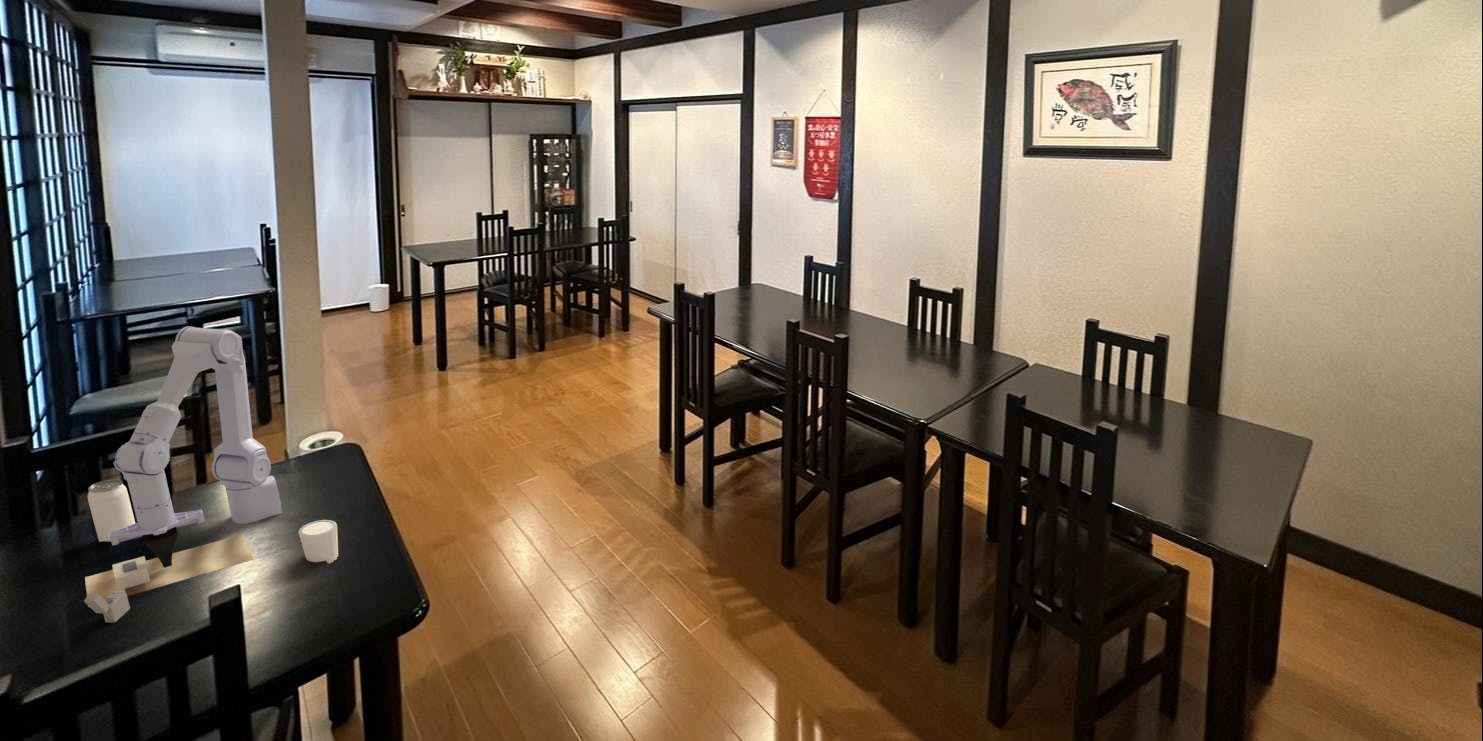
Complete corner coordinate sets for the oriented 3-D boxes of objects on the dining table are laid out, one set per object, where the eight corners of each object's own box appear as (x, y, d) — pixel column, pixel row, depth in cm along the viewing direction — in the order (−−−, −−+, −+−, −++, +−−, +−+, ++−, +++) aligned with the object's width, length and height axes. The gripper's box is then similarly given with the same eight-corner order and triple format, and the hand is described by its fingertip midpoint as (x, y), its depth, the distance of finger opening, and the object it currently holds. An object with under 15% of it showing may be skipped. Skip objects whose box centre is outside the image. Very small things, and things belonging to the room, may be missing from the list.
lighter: (122, 612, 145) (111, 574, 142) (132, 612, 145) (122, 574, 142) (93, 638, 138) (82, 597, 135) (104, 637, 138) (93, 597, 135)
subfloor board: (243, 538, 169) (242, 534, 169) (254, 563, 160) (253, 559, 160) (86, 581, 153) (84, 577, 153) (89, 612, 145) (88, 607, 144)
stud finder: (147, 567, 157) (144, 554, 156) (150, 581, 152) (147, 568, 151) (115, 576, 154) (111, 563, 153) (117, 590, 149) (114, 577, 148)
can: (117, 547, 165) (103, 494, 161) (91, 543, 166) (76, 490, 162) (145, 531, 171) (133, 480, 167) (119, 527, 172) (106, 476, 168)
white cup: (303, 571, 158) (298, 539, 156) (303, 554, 164) (298, 523, 162) (342, 562, 161) (337, 531, 159) (340, 546, 167) (336, 516, 165)
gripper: (105, 521, 144) (122, 587, 149) (200, 498, 153) (214, 561, 157) (102, 506, 149) (119, 570, 154) (195, 485, 158) (208, 545, 163)
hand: (167, 564), depth 156 cm, fingers closed
